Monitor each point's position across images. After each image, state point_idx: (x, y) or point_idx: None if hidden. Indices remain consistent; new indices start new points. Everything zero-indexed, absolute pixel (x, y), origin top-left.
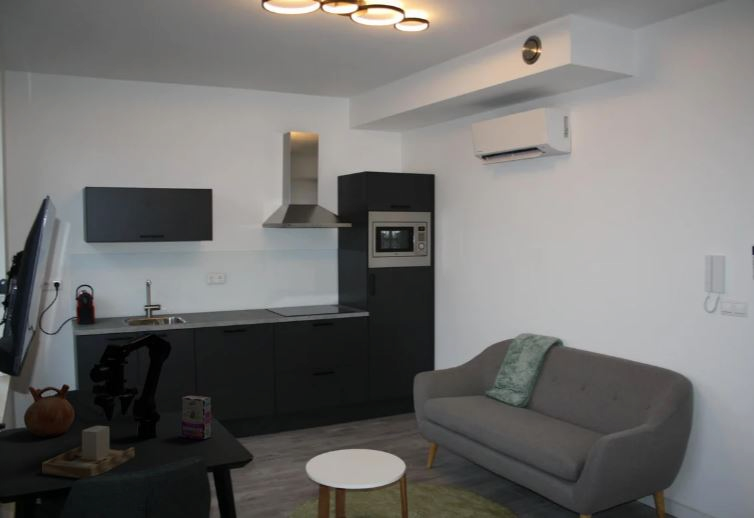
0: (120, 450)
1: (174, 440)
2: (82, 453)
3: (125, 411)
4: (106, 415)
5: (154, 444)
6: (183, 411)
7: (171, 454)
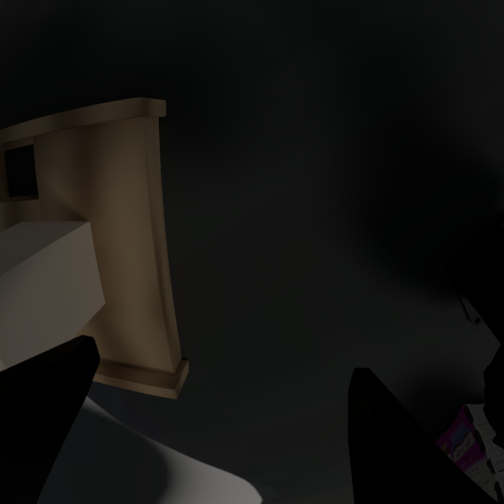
0: (164, 327)
1: (429, 402)
2: (5, 231)
3: (349, 440)
4: (31, 366)
5: (373, 367)
6: (491, 494)
7: (262, 452)
